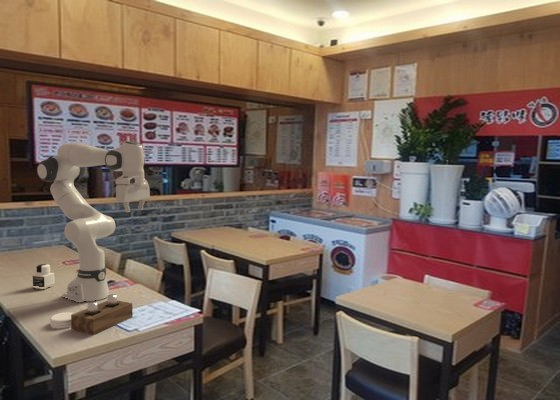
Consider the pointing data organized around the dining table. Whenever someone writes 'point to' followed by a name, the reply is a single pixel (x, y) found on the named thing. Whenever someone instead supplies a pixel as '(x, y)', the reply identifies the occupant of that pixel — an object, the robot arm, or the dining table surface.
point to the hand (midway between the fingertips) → (134, 210)
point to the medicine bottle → (43, 276)
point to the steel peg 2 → (112, 300)
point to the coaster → (61, 320)
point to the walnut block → (101, 317)
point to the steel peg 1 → (92, 308)
